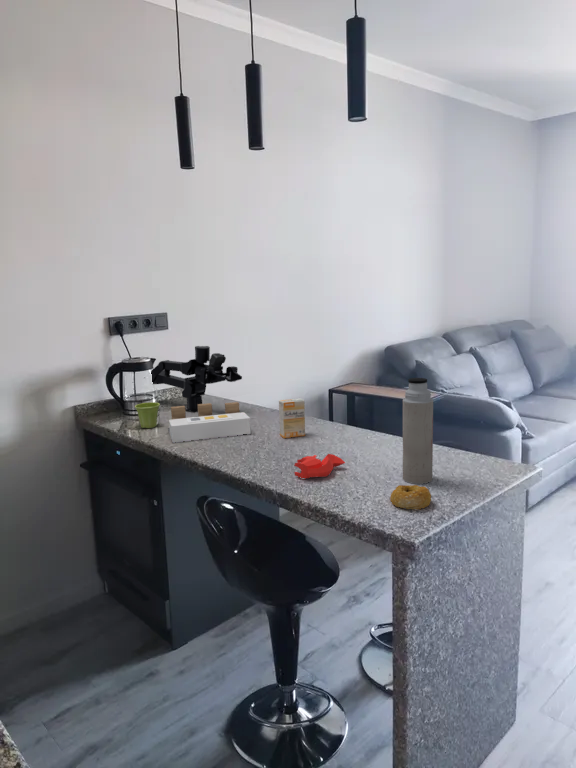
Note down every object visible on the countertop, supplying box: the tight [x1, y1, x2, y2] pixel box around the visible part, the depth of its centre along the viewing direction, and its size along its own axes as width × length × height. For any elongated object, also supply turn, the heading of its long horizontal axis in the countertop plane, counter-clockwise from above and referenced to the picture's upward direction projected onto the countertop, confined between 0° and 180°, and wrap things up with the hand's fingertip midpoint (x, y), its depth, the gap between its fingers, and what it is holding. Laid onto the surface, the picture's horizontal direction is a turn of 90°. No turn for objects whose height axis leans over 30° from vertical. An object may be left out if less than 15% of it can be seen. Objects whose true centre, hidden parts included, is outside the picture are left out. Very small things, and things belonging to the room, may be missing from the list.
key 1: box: [170, 405, 187, 420], centre depth 216 cm, size 2×5×8 cm, turn 107°
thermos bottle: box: [402, 377, 434, 485], centre depth 155 cm, size 8×8×28 cm
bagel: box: [389, 484, 432, 510], centre depth 142 cm, size 10×11×5 cm
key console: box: [167, 411, 252, 444], centre depth 213 cm, size 18×28×6 cm, turn 107°
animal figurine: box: [293, 453, 346, 480], centre depth 166 cm, size 12×15×5 cm
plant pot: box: [134, 401, 161, 429], centre depth 224 cm, size 9×9×9 cm
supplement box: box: [278, 397, 306, 439], centre depth 204 cm, size 8×5×13 cm, turn 109°
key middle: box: [197, 402, 213, 417], centre depth 218 cm, size 2×5×8 cm, turn 107°
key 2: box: [224, 401, 240, 414], centre depth 219 cm, size 2×5×8 cm, turn 107°
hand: (233, 378), depth 231 cm, fingers open, 9 cm apart
